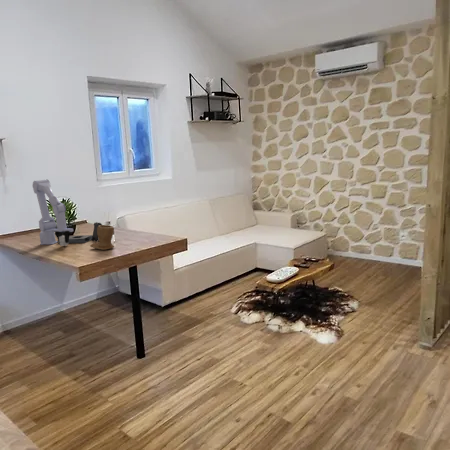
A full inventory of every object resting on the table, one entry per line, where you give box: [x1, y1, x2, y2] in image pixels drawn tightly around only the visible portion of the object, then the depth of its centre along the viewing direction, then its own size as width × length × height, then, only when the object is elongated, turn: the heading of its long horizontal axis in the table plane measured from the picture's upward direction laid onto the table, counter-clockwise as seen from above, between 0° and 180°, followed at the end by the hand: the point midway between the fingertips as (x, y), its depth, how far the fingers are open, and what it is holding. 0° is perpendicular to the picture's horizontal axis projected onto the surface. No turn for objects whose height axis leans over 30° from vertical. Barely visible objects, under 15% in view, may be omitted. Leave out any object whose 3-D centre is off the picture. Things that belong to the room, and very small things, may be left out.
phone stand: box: [91, 221, 103, 242], centre depth 285 cm, size 9×6×12 cm, turn 134°
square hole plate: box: [57, 234, 93, 245], centre depth 285 cm, size 20×11×3 cm, turn 80°
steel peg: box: [59, 235, 70, 247], centre depth 271 cm, size 4×4×6 cm
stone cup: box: [89, 224, 115, 251], centre depth 256 cm, size 15×12×15 cm
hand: (64, 242), depth 272 cm, fingers closed on steel peg, 4 cm apart
